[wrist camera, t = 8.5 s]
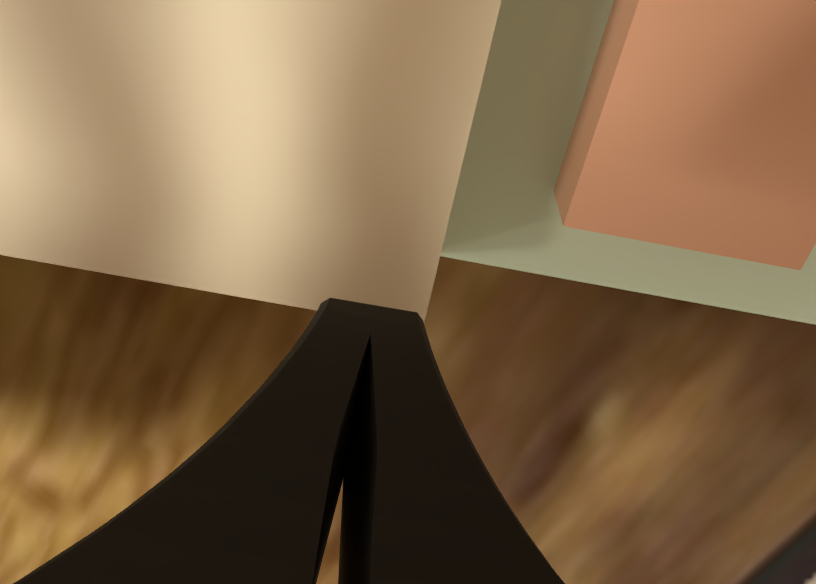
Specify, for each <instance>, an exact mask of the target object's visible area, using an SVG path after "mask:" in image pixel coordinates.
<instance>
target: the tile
mask: <svg viewBox="0 0 816 584" xmlns="http://www.w3.org/2000/svg"><path fill="white" fill-rule="evenodd" d="M554 194H555V198H556V202H557V205H558V209H559V213H560V216H561V220H562V224H563V226H565V227H571V228H576V229H581V230H587V231H592V232H597V233H603V234H608V235H614V236H619V237H624V238H630V239H635V240H640V241H646V242H651V243H656V244H662V245H667V246H673V247H678V248H683V249H689V250H694V251H699V252H705V253H710V254H716V255H721V256H726V257H732V258H737V259H742V260H748V261H753V262H758V263H764V264H769V265H775V266H780V267H785V268H791V269H796V270H801V269H802V267H803V265H804V263H805V262H806V260H807V258H808V256H809V254H810V253H811V251H812V249H813V247H814V245H815V244H816V0H614V2H613V5H612V8H611V11H610V15H609V18H608V21H607V24H606V27H605V30H604V33H603V36H602V40H601V43H600V46H599V49H598V52H597V55H596V58H595V62H594V65H593V68H592V71H591V74H590V77H589V80H588V84H587V87H586V90H585V93H584V96H583V99H582V102H581V106H580V109H579V112H578V115H577V118H576V121H575V124H574V127H573V131H572V134H571V137H570V140H569V143H568V146H567V149H566V153H565V156H564V159H563V162H562V165H561V168H560V171H559V175H558V178H557V181H556V184H555V187H554Z"/></svg>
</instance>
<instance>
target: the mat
mask: <svg viewBox="0 0 816 584" xmlns="http://www.w3.org/2000/svg"><path fill="white" fill-rule="evenodd" d="M613 2H614V0H501V4H500V9H499V13H498V17H497V21H496V25H495V30H494V34H493V38H492V42H491V46H490V50H489V55H488V59H487V63H486V67H485V71H484V75H483V80H482V84H481V88H480V92H479V96H478V100H477V105H476V109H475V113H474V117H473V121H472V126H471V130H470V134H469V138H468V142H467V146H466V151H465V155H464V159H463V163H462V167H461V171H460V176H459V180H458V184H457V188H456V192H455V196H454V201H453V205H452V209H451V213H450V217H449V221H448V226H447V230H446V234H445V238H444V242H443V247H442V251H441V255H440V256H442V257H447V258H453V259H458V260H464V261H469V262H475V263H480V264H486V265H491V266H497V267H502V268H508V269H513V270H519V271H524V272H530V273H535V274H541V275H546V276H552V277H557V278H563V279H568V280H573V281H579V282H584V283H590V284H595V285H601V286H606V287H612V288H617V289H623V290H628V291H634V292H639V293H645V294H650V295H656V296H661V297H667V298H672V299H678V300H683V301H689V302H694V303H700V304H705V305H711V306H716V307H722V308H727V309H733V310H738V311H744V312H749V313H755V314H760V315H766V316H771V317H776V318H782V319H787V320H793V321H798V322H804V323H809V324H815V325H816V244H815V245H814V247H813V249H812V251H811V253H810V254H809V256H808V258H807V260H806V262H805V263H804V265H803V267H802V269H801V270H796V269H791V268H785V267H780V266H775V265H769V264H764V263H758V262H753V261H748V260H742V259H737V258H732V257H726V256H721V255H716V254H710V253H705V252H699V251H694V250H689V249H683V248H678V247H673V246H667V245H662V244H656V243H651V242H646V241H640V240H635V239H630V238H624V237H619V236H614V235H608V234H603V233H597V232H592V231H587V230H581V229H576V228H571V227H565V226H563V224H562V220H561V216H560V213H559V209H558V205H557V202H556V198H555V194H554V187H555V184H556V181H557V178H558V175H559V171H560V168H561V165H562V162H563V159H564V156H565V153H566V149H567V146H568V143H569V140H570V137H571V134H572V131H573V127H574V124H575V121H576V118H577V115H578V112H579V109H580V106H581V102H582V99H583V96H584V93H585V90H586V87H587V84H588V80H589V77H590V74H591V71H592V68H593V65H594V62H595V58H596V55H597V52H598V49H599V46H600V43H601V40H602V36H603V33H604V30H605V27H606V24H607V21H608V18H609V15H610V11H611V8H612V5H613Z"/></svg>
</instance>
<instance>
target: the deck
mask: <svg viewBox="0 0 816 584" xmlns="http://www.w3.org/2000/svg"><path fill="white" fill-rule="evenodd" d="M500 4H501V0H0V255H4V256H10V257H15V258H21V259H27V260H32V261H38V262H44V263H49V264H55V265H61V266H66V267H72V268H78V269H83V270H89V271H95V272H100V273H106V274H112V275H117V276H123V277H129V278H134V279H140V280H146V281H152V282H157V283H163V284H169V285H174V286H180V287H186V288H191V289H197V290H203V291H208V292H214V293H220V294H225V295H231V296H237V297H242V298H248V299H254V300H259V301H265V302H271V303H276V304H282V305H288V306H293V307H299V308H305V309H311V310H316V311H317V310H318V308H319V306H320V304H321V303H322V302H323V301H325V300H327V299H329V298H336V299H341V300H347V301H353V302H359V303H365V304H371V305H373V306H374V305H377V306H383V307H389V308H395V309H400V310H406V311H412V312H417V313H418V314H419V316H420V317H421V318H422V320H423V322H425V317H426V313H427V309H428V305H429V301H430V297H431V292H432V288H433V284H434V280H435V276H436V272H437V267H438V263H439V259H440V255H441V251H442V247H443V242H444V238H445V234H446V230H447V226H448V221H449V217H450V213H451V209H452V205H453V201H454V196H455V192H456V188H457V184H458V180H459V176H460V171H461V167H462V163H463V159H464V155H465V151H466V146H467V142H468V138H469V134H470V130H471V126H472V121H473V117H474V113H475V109H476V105H477V100H478V96H479V92H480V88H481V84H482V80H483V75H484V71H485V67H486V63H487V59H488V55H489V50H490V46H491V42H492V38H493V34H494V30H495V25H496V21H497V17H498V13H499V9H500Z"/></svg>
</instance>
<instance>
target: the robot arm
mask: <svg viewBox="0 0 816 584" xmlns="http://www.w3.org/2000/svg"><path fill="white" fill-rule="evenodd" d="M342 481H343V496H342V516H341V536H340V557H339V578H338V584H565V583H564V582H563V581H562V580H561V578H560V577H559V576H558V575H557V574H556V572H555V571H554V570H553V568H552V567H551V566H550V564H549V563H548V561H547V560H546V559H545V557H544V556H543V555H542V553H541V552H540V550H539V549H538V548H537V546H536V545H535V543H534V542H533V541H532V539H531V538H530V536H529V535H528V534H527V532H526V531H525V529H524V528H523V526H522V525H521V523H520V522H519V520H518V519H517V517H516V516H515V514H514V513H513V511H512V510H511V508H510V507H509V505H508V504H507V502H506V500H505V499H504V497H503V496H502V494H501V492H500V491H499V489H498V487H497V486H496V484H495V482H494V481H493V479H492V477H491V476H490V474H489V472H488V470H487V469H486V467H485V465H484V463H483V461H482V460H481V458H480V456H479V454H478V452H477V450H476V449H475V447H474V445H473V443H472V441H471V439H470V437H469V435H468V433H467V431H466V429H465V427H464V425H463V423H462V421H461V419H460V417H459V415H458V412H457V410H456V408H455V406H454V404H453V402H452V399H451V397H450V395H449V393H448V391H447V388H446V386H445V384H444V381H443V379H442V376H441V374H440V371H439V369H438V366H437V363H436V361H435V358H434V355H433V352H432V350H431V347H430V344H429V340H428V337H427V334H426V330H425V326H424V322H423V320H422V318H421V317H420V316H419V314H418V313H417V312H412V311H406V310H400V309H395V308H389V307H383V306H377V305H374V306H373V305H371V304H365V303H359V302H353V301H347V300H341V299H336V298H329V299H327V300H325V301H323V302H322V303H321V304H320V306H319V308H318V310H317V312H316V314H315V316H314V317H313V319H312V321H311V322H310V324H309V326H308V327H307V329H306V330H305V332H304V333H303V334H302V336H301V337H300V339H299V340H298V341H297V343H296V344H295V345H294V347H293V348H292V349H291V351H290V352H289V353H288V355H287V356H286V357H285V358H284V359H283V361H282V362H281V363H280V364H279V366H278V367H277V368H276V369H275V370H274V372H273V373H272V374H271V375H270V376H269V378H268V379H267V380H266V381H265V382H264V384H263V385H262V386H261V387H260V388H259V389H258V390H257V391H256V392H255V394H254V395H253V396H252V397H251V398H250V399H249V400H248V401H247V402H246V403H245V404H244V405H243V406H242V407H241V408H240V409H239V410H238V411H237V412H236V413H235V414H234V415H233V416H232V418H231V419H230V420H229V421H228V422H227V423H226V424H225V425H224V426H223V427H222V428H221V429H220V430H219V431H218V432H216V433H215V434H214V435H213V436H212V437H211V438H210V439H209V440H208V441H207V442H206V443H205V444H204V445H203V446H201V447H200V448H199V449H198V450H197V451H196V452H195V453H194V454H193V455H191V456H190V457H189V458H188V459H187V460H186V461H184V462H183V463H182V464H181V465H180V466H179V467H177V468H176V469H175V470H174V471H173V472H172V473H170V474H169V475H168V476H167V477H166V478H164V479H163V480H162V481H160V482H159V483H158V484H157V485H155V486H154V487H153V488H151V489H150V490H149V491H148V492H146V493H145V494H144V495H142V496H141V497H140V498H139V499H137V500H136V501H135V502H133V503H132V504H131V505H130V506H128V507H127V508H126V509H124V510H123V511H122V512H120V513H119V514H118V515H116V516H115V517H113V518H112V519H111V520H109V521H108V522H107V523H105V524H104V525H102V526H101V527H99V528H98V529H97V530H95V531H94V532H92V533H91V534H89V535H88V536H86V537H85V538H83V539H82V540H80V541H78V542H77V543H75V544H74V545H72V546H71V547H69V548H68V549H66V550H65V551H63V552H62V553H60V554H59V555H57V556H55V557H54V558H52V559H51V560H49V561H48V562H46V563H45V564H43V565H42V566H40V567H39V568H37V569H35V570H34V571H32V572H31V573H29V574H28V575H26V576H25V577H23V578H22V579H20V580H18V581H17V582H15V583H14V584H316V582H317V578H318V574H319V570H320V566H321V562H322V558H323V555H324V551H325V547H326V543H327V539H328V535H329V531H330V528H331V524H332V520H333V516H334V512H335V508H336V504H337V501H338V497H339V493H340V489H341V485H342Z"/></svg>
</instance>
